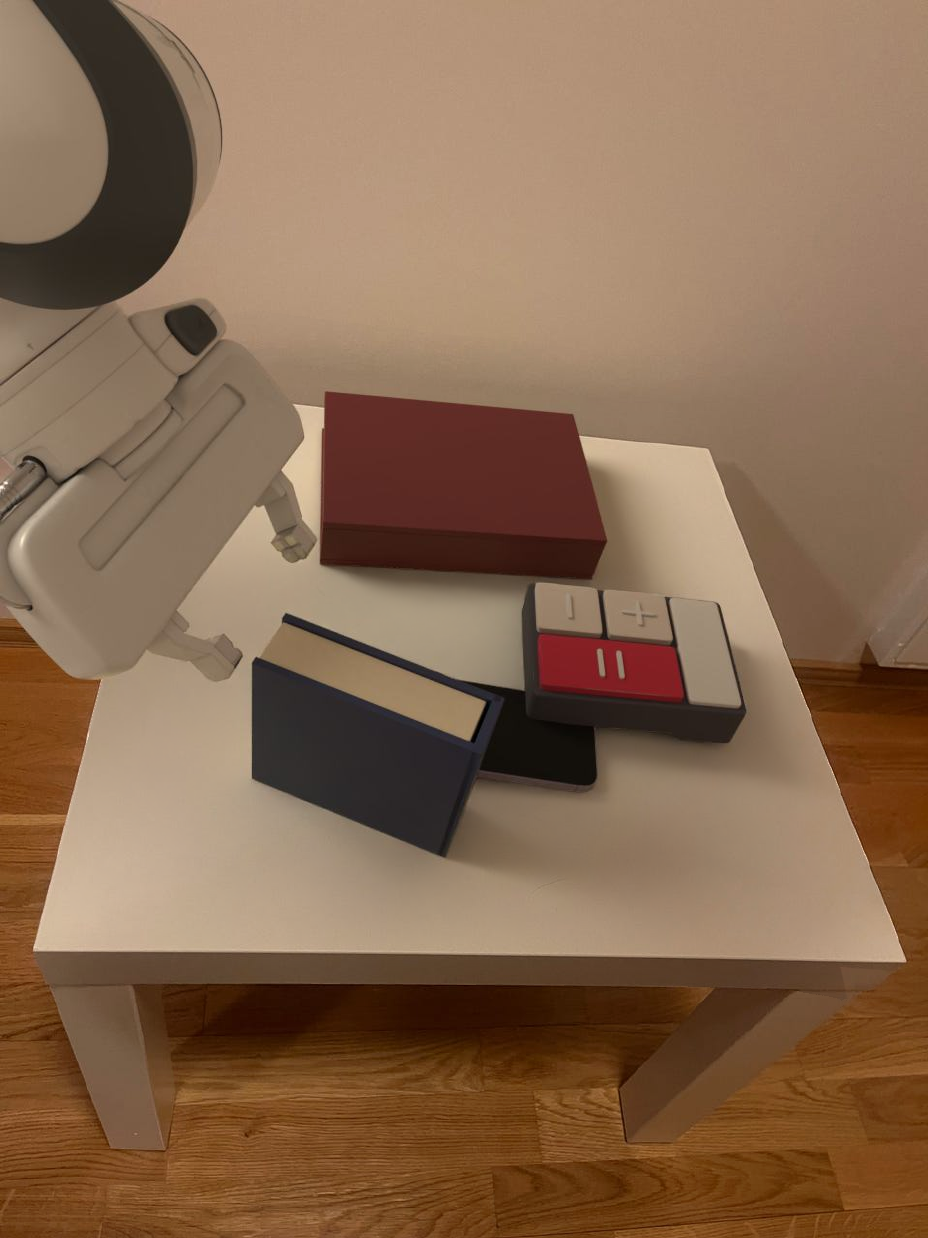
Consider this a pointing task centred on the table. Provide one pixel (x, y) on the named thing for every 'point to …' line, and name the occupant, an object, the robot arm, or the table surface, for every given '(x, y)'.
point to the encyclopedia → (455, 489)
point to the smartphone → (537, 747)
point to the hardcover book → (368, 733)
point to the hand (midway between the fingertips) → (269, 608)
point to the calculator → (629, 662)
